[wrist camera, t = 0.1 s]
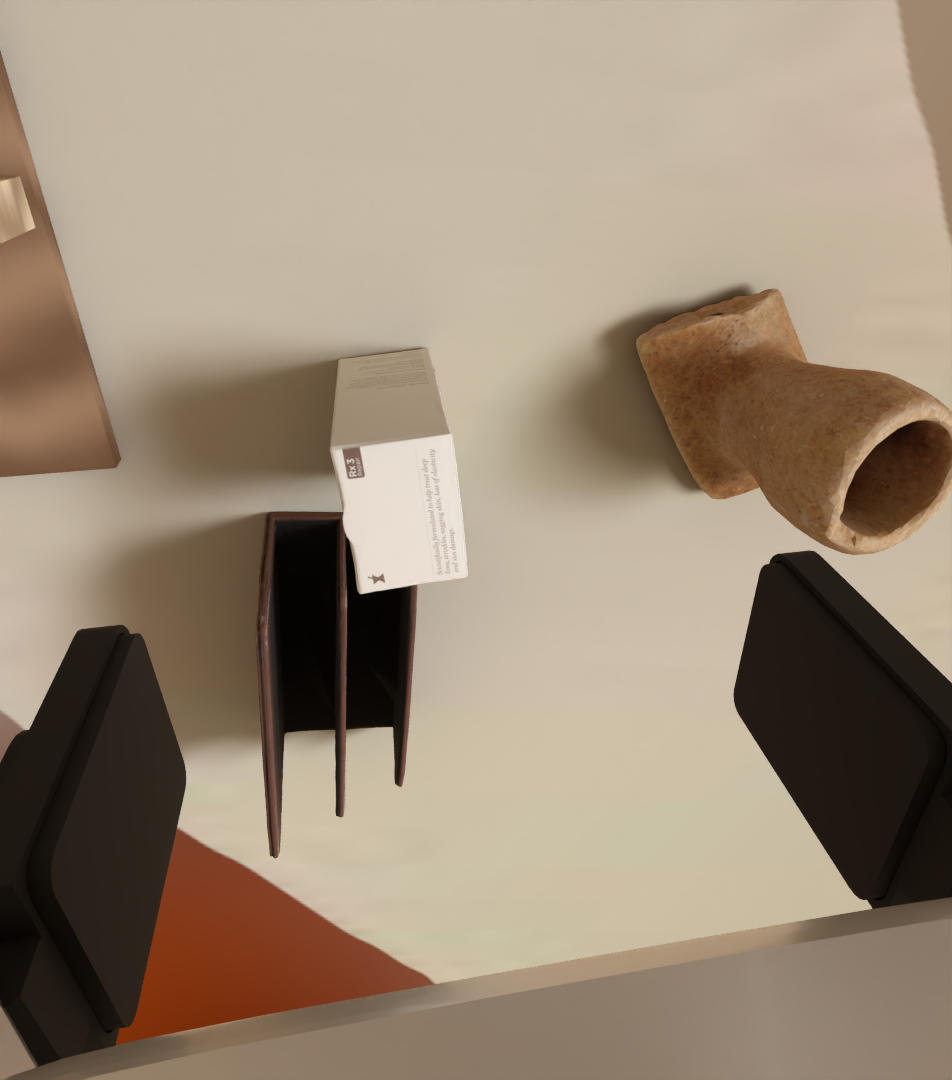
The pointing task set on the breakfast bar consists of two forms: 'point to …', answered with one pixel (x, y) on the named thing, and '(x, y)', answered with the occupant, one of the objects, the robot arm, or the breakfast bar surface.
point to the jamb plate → (41, 331)
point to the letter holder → (326, 649)
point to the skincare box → (396, 472)
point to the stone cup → (798, 425)
